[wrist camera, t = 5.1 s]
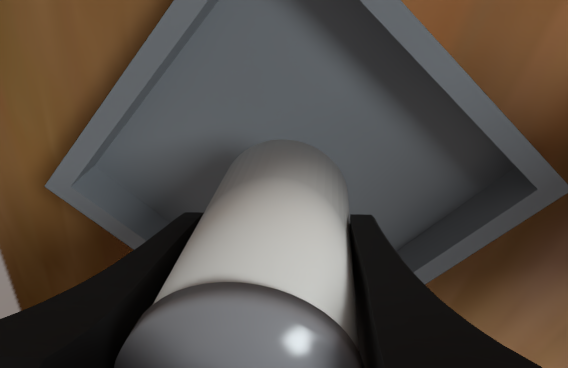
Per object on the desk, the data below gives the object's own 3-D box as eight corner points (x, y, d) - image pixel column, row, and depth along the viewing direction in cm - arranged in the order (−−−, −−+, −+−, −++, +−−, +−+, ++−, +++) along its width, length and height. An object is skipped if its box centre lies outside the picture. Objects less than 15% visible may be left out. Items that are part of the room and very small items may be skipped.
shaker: (379, 205, 14) (424, 427, 7) (282, 274, 16) (242, 509, 9) (286, 107, 13) (231, 255, 6) (193, 193, 15) (64, 388, 8)
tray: (541, 159, 17) (572, 189, 15) (301, 326, 23) (298, 365, 20) (282, -126, 13) (272, -142, 11) (77, 159, 19) (44, 186, 17)
